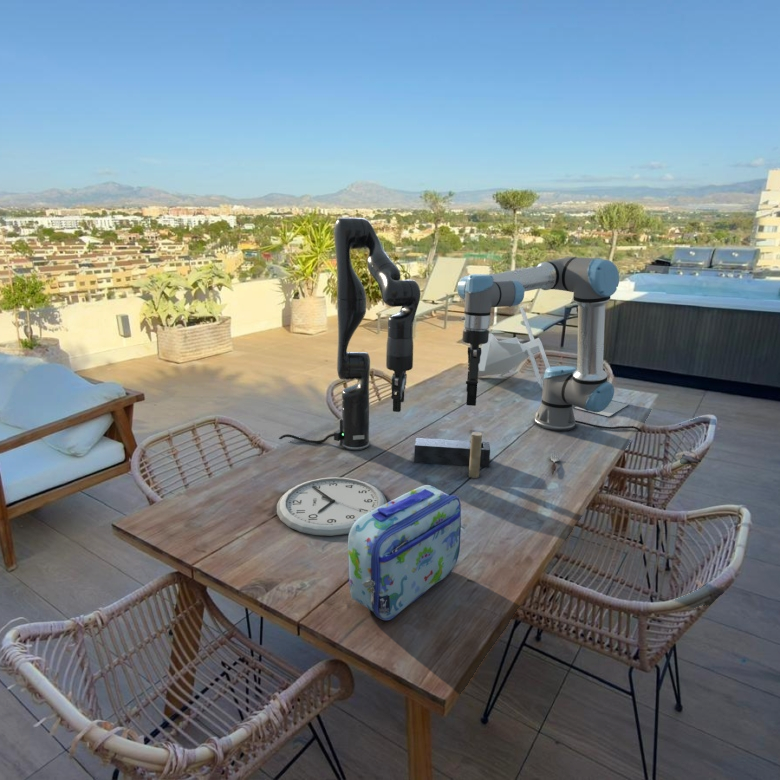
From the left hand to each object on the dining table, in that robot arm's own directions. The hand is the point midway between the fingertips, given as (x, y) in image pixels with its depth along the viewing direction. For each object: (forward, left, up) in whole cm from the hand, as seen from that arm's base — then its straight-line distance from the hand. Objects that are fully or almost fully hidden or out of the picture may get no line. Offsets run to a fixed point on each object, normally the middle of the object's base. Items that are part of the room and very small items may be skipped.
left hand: (398, 406), depth 152 cm
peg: (+19, +14, -23) cm, 33 cm away
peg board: (+9, +21, -23) cm, 32 cm away
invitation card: (+41, +106, -23) cm, 116 cm away
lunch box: (+27, -43, -23) cm, 56 cm away
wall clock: (-7, -24, -23) cm, 34 cm away
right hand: (+15, +17, +1) cm, 23 cm away
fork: (+39, +35, -23) cm, 57 cm away
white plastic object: (-5, +117, -23) cm, 120 cm away
